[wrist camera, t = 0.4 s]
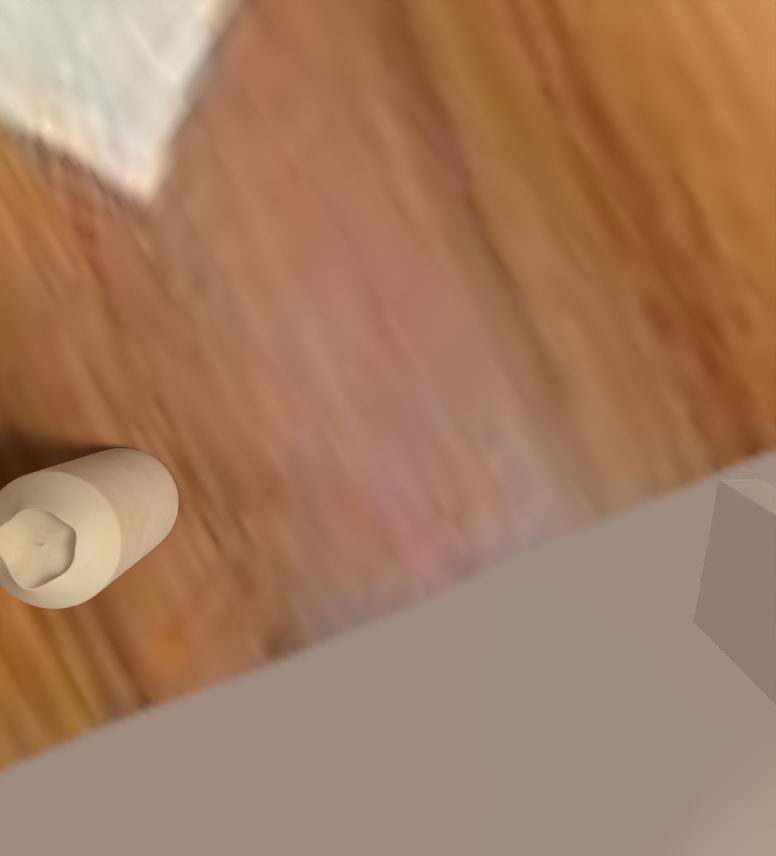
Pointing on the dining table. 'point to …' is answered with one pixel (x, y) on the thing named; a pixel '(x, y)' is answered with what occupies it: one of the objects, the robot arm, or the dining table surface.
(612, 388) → the dining table surface
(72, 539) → the candle
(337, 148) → the dining table surface
